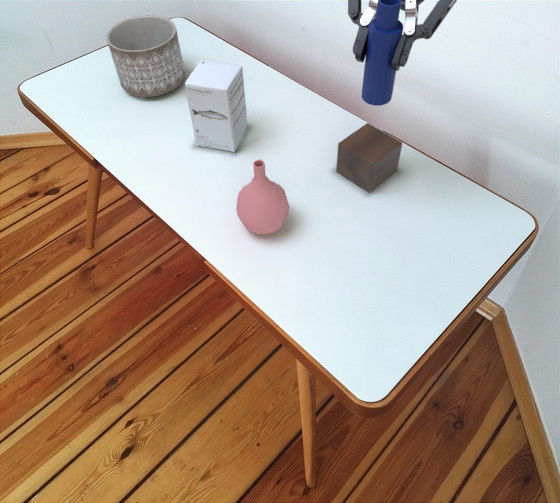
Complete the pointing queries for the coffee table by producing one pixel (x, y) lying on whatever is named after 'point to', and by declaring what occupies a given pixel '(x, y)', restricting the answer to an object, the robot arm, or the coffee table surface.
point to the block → (368, 157)
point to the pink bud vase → (262, 203)
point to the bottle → (381, 53)
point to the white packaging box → (217, 104)
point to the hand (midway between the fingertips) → (377, 63)
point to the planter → (146, 55)
